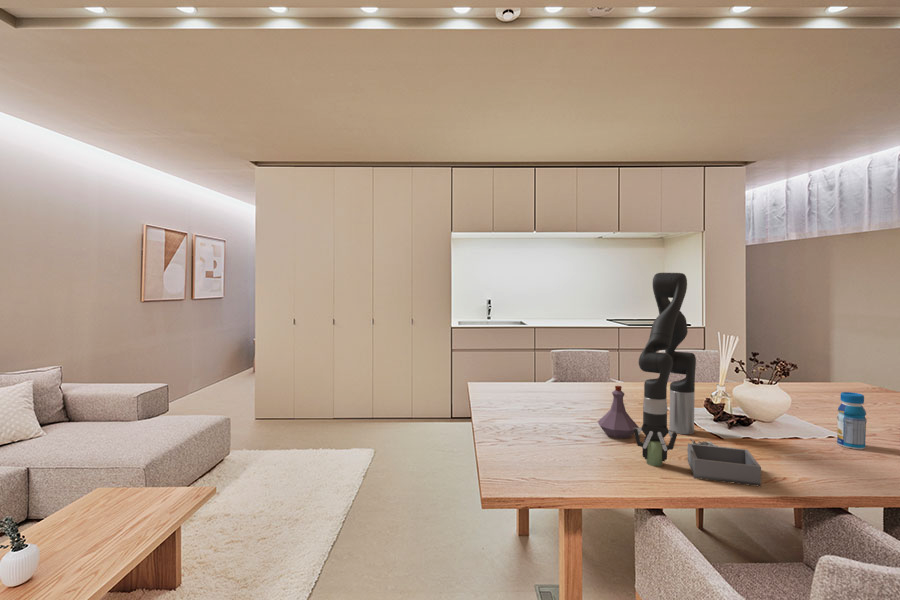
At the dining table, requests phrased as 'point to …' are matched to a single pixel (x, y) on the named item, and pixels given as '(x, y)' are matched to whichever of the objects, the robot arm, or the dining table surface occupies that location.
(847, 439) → the beverage bottle
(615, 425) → the flask
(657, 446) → the green capsule
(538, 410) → the dining table surface
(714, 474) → the bin
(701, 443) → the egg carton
